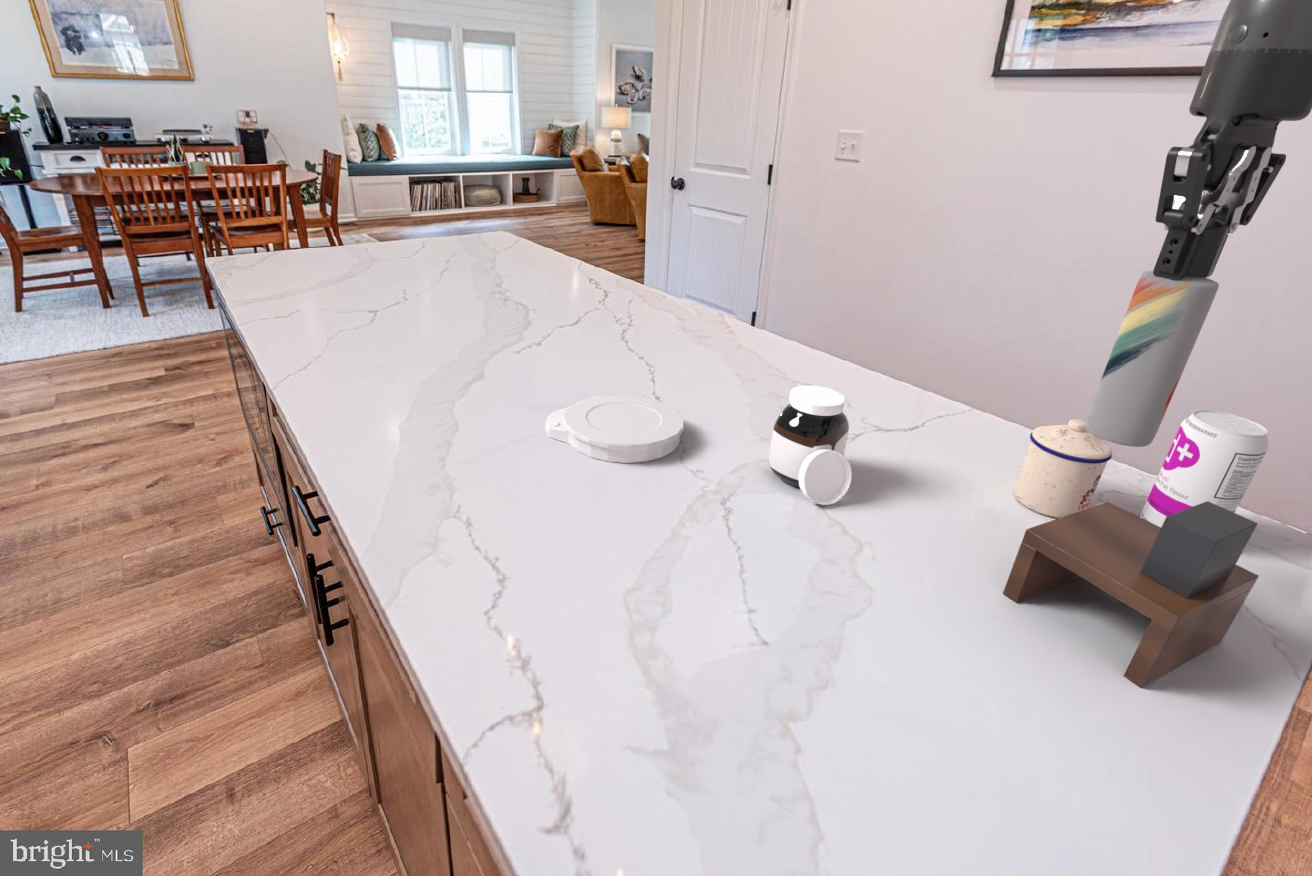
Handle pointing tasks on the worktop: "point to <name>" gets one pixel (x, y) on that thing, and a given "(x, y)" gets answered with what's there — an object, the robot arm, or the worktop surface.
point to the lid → (618, 428)
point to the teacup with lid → (1061, 469)
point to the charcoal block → (1197, 548)
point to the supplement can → (1207, 464)
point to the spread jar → (812, 444)
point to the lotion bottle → (1154, 347)
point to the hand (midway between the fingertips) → (1181, 276)
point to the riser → (1128, 584)
